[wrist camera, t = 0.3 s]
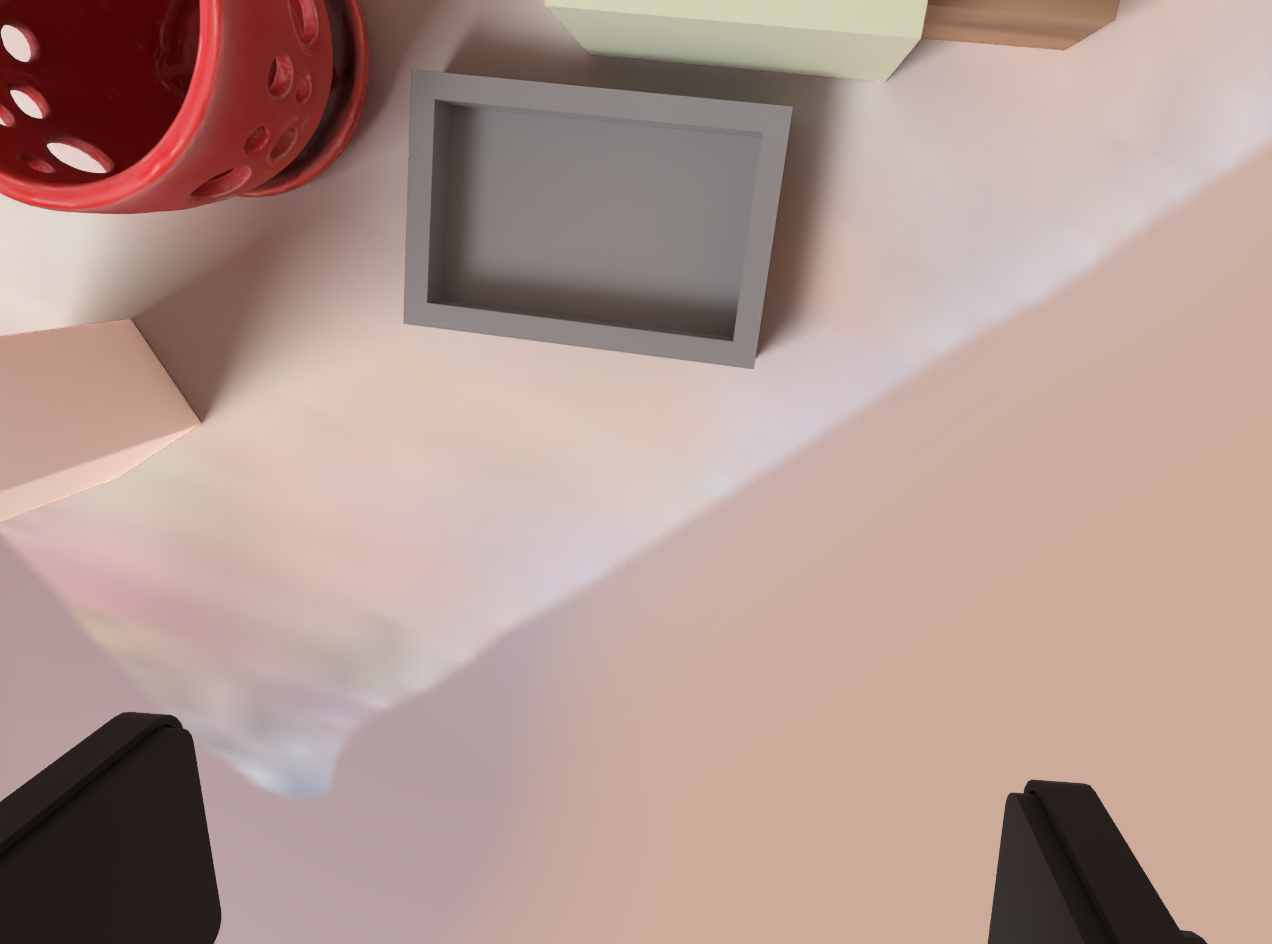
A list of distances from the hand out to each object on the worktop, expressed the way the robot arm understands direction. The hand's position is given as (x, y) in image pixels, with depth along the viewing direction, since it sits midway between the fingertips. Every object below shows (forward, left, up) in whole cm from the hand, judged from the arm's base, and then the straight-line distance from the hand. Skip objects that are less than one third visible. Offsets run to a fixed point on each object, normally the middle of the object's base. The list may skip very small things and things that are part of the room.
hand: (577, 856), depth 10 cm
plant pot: (-12, -22, -30) cm, 39 cm away
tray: (-7, -6, -30) cm, 31 cm away
